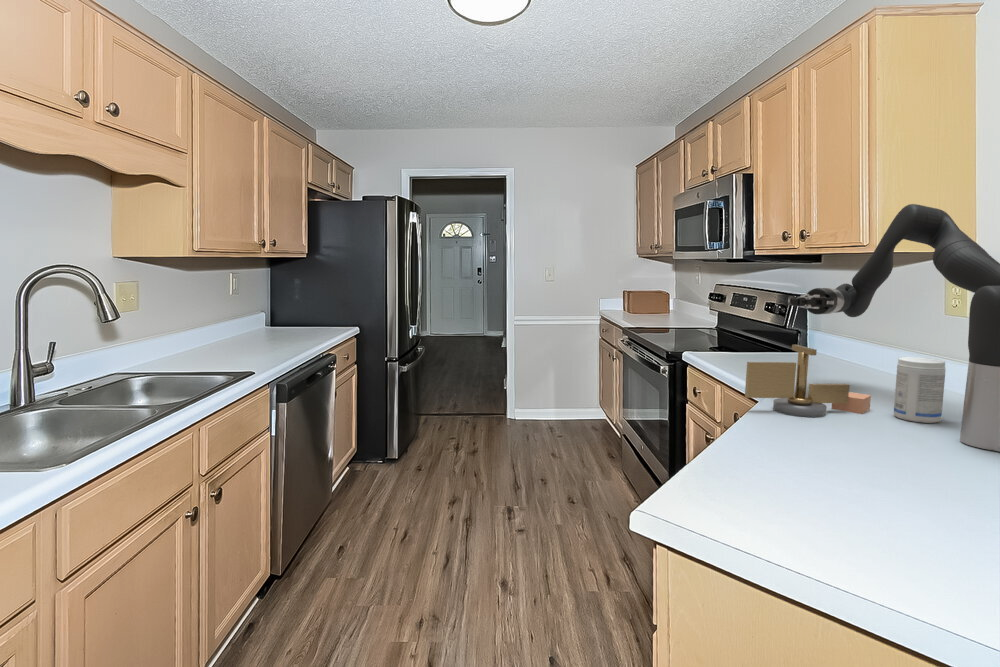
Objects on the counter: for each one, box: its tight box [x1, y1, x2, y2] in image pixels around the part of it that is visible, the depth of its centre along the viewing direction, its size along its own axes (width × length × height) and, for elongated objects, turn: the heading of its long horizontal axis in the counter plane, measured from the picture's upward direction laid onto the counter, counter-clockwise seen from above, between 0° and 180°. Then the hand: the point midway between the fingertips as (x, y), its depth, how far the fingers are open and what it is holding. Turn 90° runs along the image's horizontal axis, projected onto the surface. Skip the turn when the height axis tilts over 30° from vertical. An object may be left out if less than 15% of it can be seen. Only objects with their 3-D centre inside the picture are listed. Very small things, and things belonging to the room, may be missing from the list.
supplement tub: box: [893, 356, 946, 424], centre depth 141 cm, size 10×10×15 cm
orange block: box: [831, 391, 872, 415], centre depth 150 cm, size 7×7×4 cm
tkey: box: [744, 344, 850, 405], centre depth 146 cm, size 26×9×14 cm, turn 92°
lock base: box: [772, 398, 827, 418], centre depth 147 cm, size 12×12×2 cm
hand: (794, 302), depth 156 cm, fingers closed
